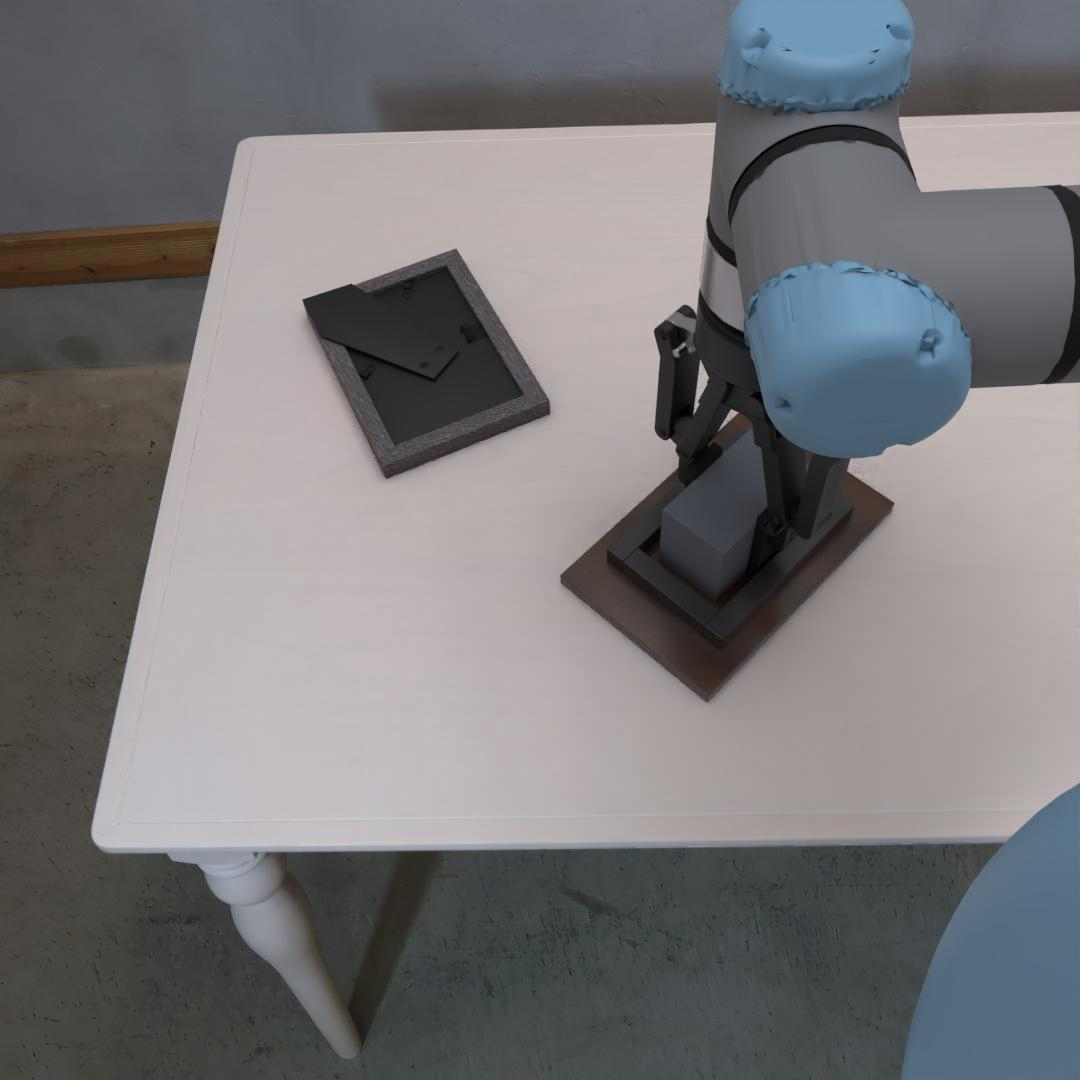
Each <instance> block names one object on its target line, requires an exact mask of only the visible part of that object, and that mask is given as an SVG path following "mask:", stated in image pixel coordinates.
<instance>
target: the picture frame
mask: <svg viewBox="0 0 1080 1080" xmlns="http://www.w3.org/2000/svg"><path fill="white" fill-rule="evenodd" d="M301 301H302V303H303V304H302V305H303V307H304V310H305V313H306V317H307V318H308V321H309V323H310V326H311V327H312V329H313V331H314V333H315V335H316V337H317V340H318V341H319V343H320V346H321V348H322V350H323V352H324V354H325V356H326V358H327V360H328V362H329V364H330V367H331V368H332V371H333V372H334V374H335V377H336V379H337V381H338V382H339V385H340V387H341V389H342V391H343V393H344V395H345V398H346V399H347V402H348V403H349V406H350V408H351V410H352V412H353V414H354V416H355V418H356V420H357V422H358V424H359V426H360V428H361V431H362V432H363V434H364V436H365V438H366V440H367V442H368V444H369V447H370V449H371V451H372V453H373V455H374V457H375V459H376V461H377V463H378V466H379V467H380V470H381V472H382V473H383V475H384V477H385V479H389V478H392V477H394V476H396V475H397V476H398V475H399V474H402V473H404V472H407V471H410V470H412V469H414V468H417V467H419V466H422V465H424V464H427V463H430V462H432V461H434V460H437V459H440V458H442V457H445V456H448V455H449V454H452V453H455V452H457V451H459V450H462V449H466V448H467V447H470V446H472V445H475V444H478V443H480V442H482V441H484V440H487V439H490V438H492V437H495V436H497V435H500V434H503V433H505V432H507V431H510V430H512V429H515V428H518V427H521V426H523V425H526V424H528V423H531V422H533V421H536V420H537V419H538V420H539V419H541V418H543V417H546V416H548V415H551V404H550V403H551V402H550V399H549V396H547V394H546V392H545V391H544V388H543V387H542V385H541V384H540V382H539V381H538V379H537V377H536V376H535V374H534V372H533V371H532V369H531V367H530V366H529V365H528V362H527V361H526V359H525V358H524V356H523V355H522V353H521V351H520V350H519V347H518V346H517V345H516V343H515V342H514V340H513V338H512V337H511V335H510V333H509V332H508V330H507V329H506V327H505V325H504V323H503V322H502V321H501V319H500V317H499V316H498V314H497V312H496V311H495V309H494V307H493V306H492V304H491V303H490V301H489V299H488V298H487V296H486V294H485V292H484V291H483V289H482V288H481V286H480V284H479V283H478V281H477V280H476V278H475V277H474V275H473V273H472V271H471V269H470V268H469V267H468V264H467V263H466V262H465V260H464V258H463V257H462V255H461V254H460V252H459V250H458V249H457V248H453V249H450V250H447V251H444V252H442V253H439V254H437V255H433V256H430V257H428V258H425V259H423V260H420V261H416V262H414V263H411V264H409V265H408V264H407V265H405V266H403V267H400V268H397V269H395V270H392V271H389V272H387V273H384V274H381V275H378V276H375V277H372V278H370V279H367V280H364V281H361V282H359V283H355V284H354V283H348V284H346V285H343V286H339V287H336V288H333V289H331V290H327V291H324V292H321V293H317V294H315V295H311V296H308V297H306V298H302V300H301Z"/></svg>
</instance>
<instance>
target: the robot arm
mask: <svg viewBox="0 0 1080 1080" xmlns="http://www.w3.org/2000/svg"><path fill="white" fill-rule="evenodd" d="M914 44H915V27H914V21H913V18H912V16H911V14H910V11H909V10H908V7H907V6H906V5H905V4H904V2H902V0H740V2H739V3H738V4H737V5H736V7H735V8H734V10H733V12H732V14H731V16H730V18H729V22H728V25H727V31H726V37H725V44H724V49H723V55H722V60H721V66H720V69H719V71H717V73H716V77H715V84H716V87H717V88H718V93H717V107H716V117H715V118H716V119H715V132H714V143H713V153H712V166H711V177H710V188H709V189H710V190H709V198H708V199H709V200H708V201H709V202H708V207H707V216H706V219H705V225H704V226H705V227H704V235H703V243H702V251H701V262H700V270H699V277H698V278H699V290H698V296H697V307H696V311H695V310H694V309H693V308H692V307H691V306H690V305H689V304H682V305H681V306H680V307H679V308H677V309H676V310H675V311H673V312H672V314H670V315H669V316H668V317H666V318H665V319H664V320H663V321H662V322H661V323H659V324H658V325H657V326H656V327H654V329H653V335H654V338H655V343H656V346H657V351H658V355H659V364H658V365H659V367H658V378H657V390H656V402H655V403H656V404H655V416H654V417H655V418H654V432H655V434H656V436H657V437H659V439H661V440H663V441H668V440H671V441H672V443H674V445H676V446H675V450H674V451H675V454H676V455H677V457H678V462H677V463H678V464H677V468H678V473H677V475H678V478H679V481H680V482H682V483H683V484H685V488H687V487H688V486H689V485H690V484H691V483H692V482H693V481H694V480H696V479H697V478H698V477H699V476H700V475H701V474H702V473H703V472H704V471H705V470H706V469H707V468H709V467H710V466H711V465H712V464H713V463H714V462H715V461H716V460H717V459H718V458H719V457H721V456H722V453H723V447H721V446H720V445H718V444H717V443H715V442H713V443H712V444H711V445H710V446H709V447H708V445H709V442H710V441H711V440H713V439H714V438H715V437H716V436H717V435H718V434H719V433H720V432H721V431H719V430H720V429H721V428H722V425H723V424H724V422H725V421H726V419H727V417H728V415H729V414H730V412H731V411H734V412H736V413H741V414H743V415H744V416H745V417H746V418H747V419H748V420H749V421H750V422H751V423H752V428H753V436H754V443H755V445H756V446H758V447H760V448H761V452H762V461H763V469H764V478H765V487H766V495H767V504H768V507H767V508H766V509H765V510H764V511H763V512H762V513H760V514H759V515H758V516H757V520H756V526H755V531H754V536H753V541H752V546H751V551H750V556H749V560H748V565H747V570H746V571H747V572H749V573H750V574H751V575H753V576H755V575H756V574H757V573H758V572H759V571H760V570H761V569H762V568H763V567H764V566H765V565H766V564H767V563H768V562H769V561H770V560H771V559H772V558H773V557H774V556H775V555H776V554H777V553H778V552H781V551H782V550H783V549H784V548H785V547H786V546H787V545H788V544H789V543H790V542H791V541H792V540H793V539H794V538H795V537H796V536H797V534H798V535H799V536H800V537H801V538H803V539H805V540H809V539H810V538H811V537H812V536H813V535H814V534H815V533H816V532H817V531H818V530H819V529H820V528H821V527H822V526H823V525H824V524H825V523H826V522H827V521H828V520H829V519H830V518H831V517H832V516H833V515H834V514H835V511H836V507H837V504H838V500H839V497H840V494H841V490H842V487H843V483H844V480H845V476H846V473H847V471H848V469H849V466H850V463H851V459H864V458H871V457H878V456H881V455H883V453H884V452H885V450H886V449H888V448H890V447H894V446H896V445H899V446H900V445H902V446H909V447H911V446H913V445H915V444H918V443H921V442H923V441H924V440H926V439H928V438H929V437H931V436H933V435H934V434H936V433H937V432H938V431H940V430H941V429H942V428H943V427H945V426H947V424H948V423H949V422H951V420H953V418H954V417H955V416H956V415H957V414H958V412H960V410H961V408H962V407H963V405H964V403H965V401H966V399H967V397H968V395H969V392H970V389H985V388H986V389H987V388H1007V387H1008V388H1009V387H1028V386H1030V387H1031V386H1036V385H1058V384H1059V385H1060V384H1080V184H1072V185H1069V184H1068V185H1062V184H1049V185H1035V186H1034V185H1033V186H1015V187H994V188H992V187H991V188H974V189H973V188H971V189H950V190H949V189H948V190H937V191H935V190H934V191H921V189H920V187H919V185H918V182H917V181H918V180H917V177H916V175H915V171H914V168H913V166H912V163H911V160H910V157H909V154H908V150H907V147H906V144H905V141H904V137H903V135H902V130H901V128H900V127H901V126H900V108H901V102H902V99H903V96H904V94H905V93H906V92H907V91H908V88H909V86H910V85H911V82H912V81H911V80H912V75H911V72H910V71H911V63H912V58H913V50H914ZM700 365H702V367H703V369H704V370H705V373H706V374H707V377H708V379H707V380H706V386H705V387H704V389H703V391H702V393H701V395H700V397H699V399H698V400H697V403H698V406H697V408H696V410H695V404H696V398H697V389H698V380H699V372H700ZM805 450H808V451H810V452H813V453H814V454H813V456H812V458H811V460H810V463H809V467H808V471H807V467H806V454H805ZM900 1080H1080V782H1078V783H1077V784H1075V785H1074V786H1072V787H1071V788H1069V789H1067V790H1066V791H1064V792H1062V793H1061V794H1059V795H1058V796H1057V797H1055V798H1053V800H1051V801H1050V802H1048V803H1047V804H1046V805H1045V806H1043V807H1042V808H1041V809H1039V810H1038V811H1037V812H1036V813H1035V814H1033V816H1032V817H1030V819H1028V820H1027V821H1026V822H1025V823H1024V824H1023V825H1022V826H1021V827H1020V828H1019V829H1018V830H1017V831H1015V832H1014V833H1013V834H1012V835H1011V836H1010V837H1009V838H1008V839H1007V840H1006V841H1005V842H1004V844H1003V845H1002V846H1000V847H999V849H998V850H997V851H996V852H995V853H994V854H993V855H992V857H991V858H990V859H989V860H988V862H986V864H985V865H984V866H983V867H982V869H981V870H980V872H979V873H978V875H977V876H975V878H974V880H973V881H972V883H971V884H970V886H969V887H968V889H967V890H966V892H965V894H964V896H963V897H962V899H961V900H960V903H959V904H958V906H957V907H956V909H955V911H954V912H953V914H952V916H951V918H950V920H949V922H948V924H947V926H946V928H945V930H944V932H943V934H942V936H941V938H940V940H939V942H938V944H937V946H936V949H935V952H934V954H933V957H932V959H931V961H930V964H929V967H928V970H927V973H926V975H925V978H924V982H923V985H922V988H921V990H920V994H919V997H918V1000H917V1002H916V1007H915V1010H914V1013H913V1015H912V1020H911V1023H910V1028H909V1031H908V1036H907V1040H906V1045H905V1049H904V1054H903V1061H902V1067H901V1072H900Z"/></svg>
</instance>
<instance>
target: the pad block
mask: <svg viewBox="0 0 1080 1080" xmlns="http://www.w3.org/2000/svg"><path fill="white" fill-rule="evenodd" d="M806 467H807V471H808V467H809V465H808V464H806ZM767 507H768V504H767V495H766V487H765V478H764V469H763V461H762V452H761V448H760V447H758V446H756V445H755V443H754V436H753V428H751V429H749V430H748V431H747V432H746V433H745V434H744V435H743V436H742V437H741V438H740V439H739V440H737V441H736V442H735V443H734V444H733V445H732V446H731V447H730V448H729V449H728V450H727V451H726V452H724V453H723V454H722V456H721V457H719V458H718V459H717V460H716V461H715V462H714V463H713V464H712V465H711V466H710V467H709V468H707V469H706V470H705V471H704V472H703V473H702V474H701V475H700V476H699V477H698V478H697V479H696V480H694V481H693V482H692V483H691V484H690V485H689V486H688V487H687V488H685V489H684V490H683V491H682V492H681V493H680V494H679V495H678V496H677V497H676V498H675V499H673V500H672V501H671V502H670V503H669V504H668V505H667V506H666V507H665V508H664V509H663V511H662V524H661V536H660V549H659V559H660V560H661V561H662V562H664V563H665V564H666V565H667V566H669V567H670V568H671V569H673V570H674V571H675V572H677V573H678V574H679V575H681V576H682V577H683V578H684V579H686V580H687V581H688V582H690V583H691V584H692V585H694V586H695V587H696V588H697V589H699V590H700V591H701V592H703V593H704V594H705V595H707V596H708V597H709V598H710V599H712V600H713V601H714V602H716V601H717V600H718V599H719V598H721V597H722V596H723V595H724V594H725V593H726V592H727V591H728V590H729V589H730V588H731V587H732V586H733V585H734V584H735V583H736V582H737V581H738V580H739V579H740V578H741V577H742V576H743V575H744V574H745V573H746V572H747V571H746V570H747V565H748V560H749V556H750V551H751V546H752V541H753V536H754V531H755V526H756V520H757V516H758V515H759V514H760V513H762V512H763V511H764V510H765V509H766V508H767Z"/></svg>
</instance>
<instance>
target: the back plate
mask: <svg viewBox="0 0 1080 1080" xmlns="http://www.w3.org/2000/svg"><path fill="white" fill-rule="evenodd" d="M751 428H752V423H751V422H750V421H749V420H748V419H747V418H746V417H745V416H744V415H743V414H741V413H739V412H737V413H736V415H734V416H733V417H732V418H731V419H730V420H729V421H727V423H725V424H724V426H721V427H720V429H719V430H718V431H721V432H720V433H719V434H718V435H717V436H716V437H715V438H714V439H713V440H711V441H710V442H709V445H708V447H709V446H710V445H711V444H712V443H713V442H715V443H717V444H718V445H720V446H721V447H723V453H724V452H726V451H727V450H728V449H729V448H730V447H731V446H732V445H733V444H734V443H735V442H736V441H737V440H739V439H740V438H741V437H742V436H743V435H744V434H745V433H746V432H747V431H748V430H749V429H751ZM723 453H722V454H723ZM805 454H806V464H808V465H809V463H810V460H811V458H812V456H813V454H814V453H813V452H810V451H808V450H805ZM677 473H678V467H677V468H675V470H674V471H673V472H672V473H671V474H669V475H668V476H667V477H666V478H665V479H664V480H663V481H662V482H661V483H660V484H658V486H656V487H655V488H654V489H653V490H652V491H651V492H649V494H647V495H646V496H645V497H644V498H643V499H642V500H641V501H639V503H637V504H636V506H634V507H633V508H632V509H631V510H630V511H629V512H628V513H627V514H626V515H624V516H623V518H621V520H619V521H618V522H617V523H616V524H615V525H613V526H612V527H611V528H610V529H609V530H608V531H607V532H606V533H605V534H604V535H603V536H601V537H600V538H599V539H597V541H596V542H594V544H592V546H590V547H589V548H588V549H587V550H586V551H585V552H584V553H583V554H581V556H579V558H578V559H577V560H575V561H574V562H573V563H572V564H571V565H570V566H568V567H567V569H565V570H564V571H563V572H562V573H561V574H560V583H561V584H562V585H563V586H565V587H566V588H567V589H568V590H570V591H571V593H573V594H574V595H576V596H577V597H578V598H579V599H580V600H582V601H583V602H584V603H585V604H586V605H588V606H589V607H590V608H591V609H592V610H593V611H595V612H596V613H597V614H598V615H600V616H601V617H602V618H604V619H605V620H606V621H607V622H608V623H610V624H611V625H612V626H613V627H615V628H616V629H617V630H618V631H619V632H621V633H622V634H623V635H624V636H625V637H627V638H628V639H629V640H630V641H631V642H633V643H634V644H635V645H636V646H638V647H639V648H640V649H641V650H642V651H644V652H645V653H646V654H648V655H649V656H650V657H651V658H652V659H653V660H655V661H656V662H657V663H659V664H660V665H661V666H662V667H663V668H665V669H666V670H667V671H669V672H670V673H671V674H672V675H674V677H675V678H676V679H678V680H679V681H680V682H682V683H683V684H684V685H685V686H687V687H688V688H689V689H690V690H691V691H693V692H694V693H695V694H696V695H698V697H700V698H701V699H702V700H704V701H705V703H708V702H709V701H710V700H711V699H712V698H714V696H715V695H716V694H717V693H718V692H719V691H720V690H721V689H722V688H723V686H725V685H726V684H727V683H728V682H729V680H731V678H732V677H734V675H735V674H736V673H737V672H738V671H739V670H740V669H741V668H742V667H743V666H744V665H745V664H746V663H747V662H748V661H749V660H750V659H751V658H752V656H754V655H755V653H757V651H758V650H759V649H760V648H761V647H762V646H764V644H766V642H767V641H768V640H769V639H770V638H771V637H772V636H773V635H774V634H775V633H776V632H777V631H778V629H780V628H781V626H782V625H784V623H785V622H786V621H788V620H789V618H790V617H791V616H793V614H794V613H795V612H796V611H797V610H798V609H799V608H800V607H801V606H802V605H803V603H805V602H806V600H807V599H809V598H810V597H811V595H812V594H813V593H815V591H816V590H817V589H818V588H819V587H820V586H821V585H822V584H823V583H824V582H825V581H826V580H827V579H828V578H829V577H830V576H831V574H833V572H834V571H835V570H836V569H837V568H838V567H840V565H841V564H842V563H843V562H844V561H845V560H846V559H847V558H848V557H849V556H850V555H851V554H852V553H853V552H854V551H855V550H856V549H857V548H858V547H859V546H860V545H861V543H862V542H864V540H866V539H867V537H869V536H870V534H871V533H872V532H873V531H874V530H875V529H876V528H877V527H878V526H879V525H880V524H881V523H882V522H883V521H884V520H885V518H886V517H888V515H890V513H891V512H892V511H893V509H894V506H895V502H894V501H892V500H891V499H890V498H889V497H887V496H886V495H884V494H882V493H881V492H880V491H878V490H876V489H875V488H873V487H871V486H870V485H869V484H867V483H866V482H864V481H863V480H861V479H860V478H858V477H857V476H855V475H854V474H852V473H851V472H850V471H848V470H847V473H846V476H845V480H844V483H843V487H842V490H841V494H840V497H839V500H838V504H837V507H836V511H835V514H834V515H833V516H832V517H831V518H830V519H829V520H828V521H827V522H826V523H825V524H824V525H823V526H822V527H821V528H820V529H819V530H818V531H817V532H816V533H815V534H814V535H813V536H812V537H811V538H810V539H809V540H805V539H803V538H801V537H800V536H799V535H798V534H797V536H796V537H795V538H794V539H793V540H792V541H791V542H790V543H789V544H788V545H787V546H786V547H785V548H784V549H783V550H782V551H781V552H778V553H777V554H776V555H775V556H774V557H773V558H772V559H771V560H770V561H769V562H768V563H767V564H766V565H765V566H764V567H763V568H762V569H761V570H760V571H759V572H758V573H757V574H756V575H755V576H753V575H751V574H750V573H749V572H746V573H745V574H744V575H743V576H742V577H741V578H740V579H739V580H738V581H737V582H736V583H735V584H734V585H733V586H732V587H731V588H730V589H729V590H728V591H727V592H726V593H725V594H724V595H723V596H722V597H721V598H719V599H718V600H717V601H716V602H714V601H713V600H712V599H710V598H709V597H708V596H707V595H705V594H704V593H703V592H701V591H700V590H699V589H697V588H696V587H695V586H694V585H692V584H691V583H690V582H688V581H687V580H686V579H684V578H683V577H682V576H681V575H679V574H678V573H677V572H675V571H674V570H673V569H671V568H670V567H669V566H667V565H666V564H665V563H664V562H662V561H661V560H660V559H659V549H660V536H661V524H662V511H663V509H664V508H665V507H666V506H667V505H668V504H669V503H670V502H671V501H672V500H673V499H675V498H676V497H677V496H678V495H679V494H680V493H681V492H682V491H683V490H684V489H685V484H683V483H682V482H680V481H679V478H678V475H677Z"/></svg>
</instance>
